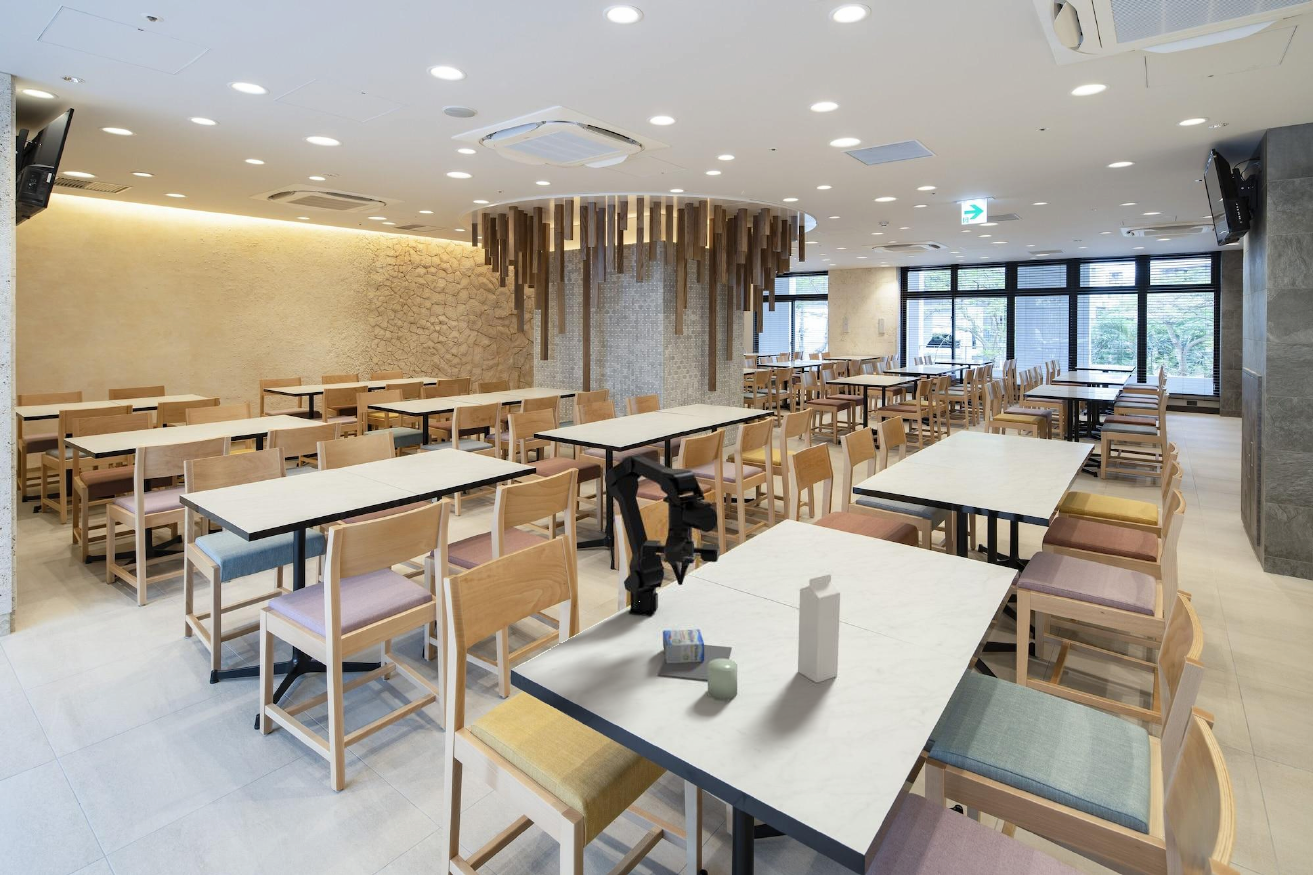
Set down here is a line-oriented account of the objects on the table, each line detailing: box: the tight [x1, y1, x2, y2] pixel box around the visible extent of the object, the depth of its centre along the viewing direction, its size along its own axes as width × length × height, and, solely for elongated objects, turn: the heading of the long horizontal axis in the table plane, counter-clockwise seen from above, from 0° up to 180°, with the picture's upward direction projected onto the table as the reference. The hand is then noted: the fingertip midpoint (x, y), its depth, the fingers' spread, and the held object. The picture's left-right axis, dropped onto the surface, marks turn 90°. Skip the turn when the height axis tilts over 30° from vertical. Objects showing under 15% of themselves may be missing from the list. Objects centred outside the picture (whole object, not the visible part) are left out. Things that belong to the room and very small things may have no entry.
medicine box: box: [662, 628, 705, 663], centre depth 157 cm, size 8×4×9 cm
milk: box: [797, 573, 841, 684], centre depth 147 cm, size 6×6×22 cm
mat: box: [657, 644, 732, 682], centre depth 155 cm, size 14×16×1 cm
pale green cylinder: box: [707, 658, 738, 701], centre depth 141 cm, size 6×6×6 cm
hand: (680, 584), depth 169 cm, fingers closed
